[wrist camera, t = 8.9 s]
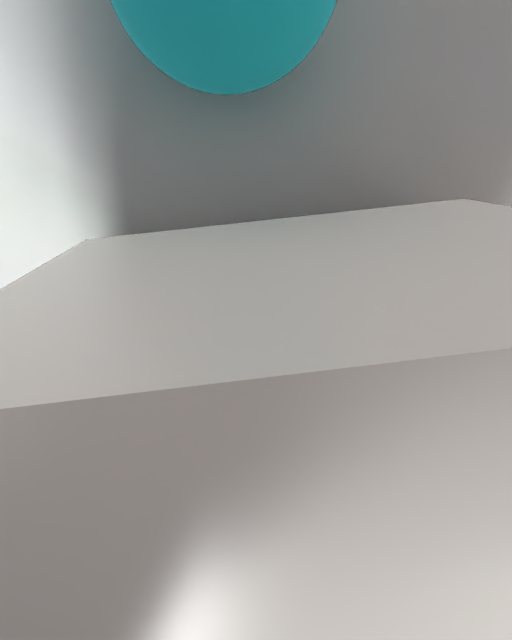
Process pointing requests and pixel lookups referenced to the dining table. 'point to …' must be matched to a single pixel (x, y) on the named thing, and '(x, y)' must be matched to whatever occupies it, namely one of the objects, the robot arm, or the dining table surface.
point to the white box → (263, 432)
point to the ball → (225, 38)
